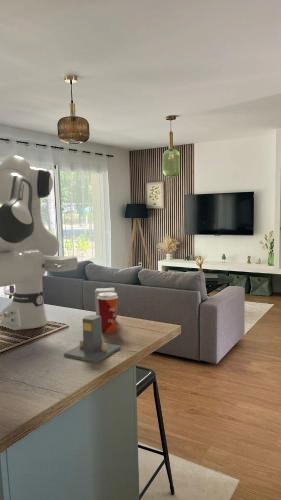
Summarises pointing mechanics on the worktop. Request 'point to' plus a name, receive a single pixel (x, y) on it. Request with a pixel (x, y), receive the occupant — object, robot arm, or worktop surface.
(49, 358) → the worktop surface
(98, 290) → the skincare box
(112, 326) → the coffee cup
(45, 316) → the robot arm
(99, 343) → the plug block
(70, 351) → the slate board
